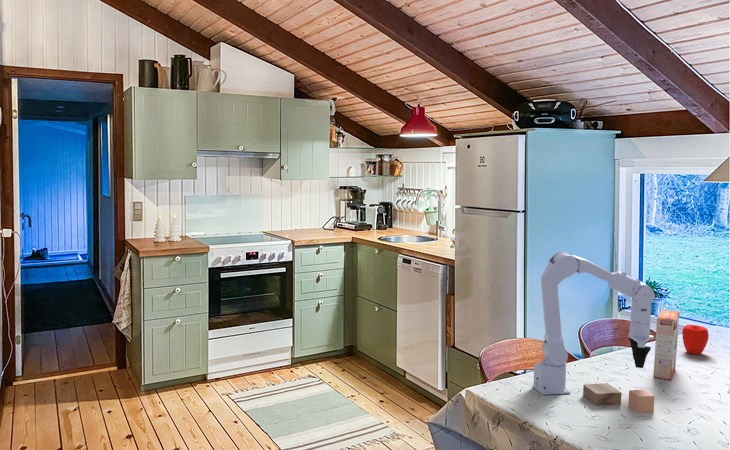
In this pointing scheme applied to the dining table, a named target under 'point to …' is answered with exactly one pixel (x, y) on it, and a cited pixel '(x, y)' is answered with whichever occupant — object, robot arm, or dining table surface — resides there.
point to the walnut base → (602, 394)
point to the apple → (695, 338)
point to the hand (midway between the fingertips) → (638, 363)
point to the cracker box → (666, 344)
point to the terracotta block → (641, 401)
